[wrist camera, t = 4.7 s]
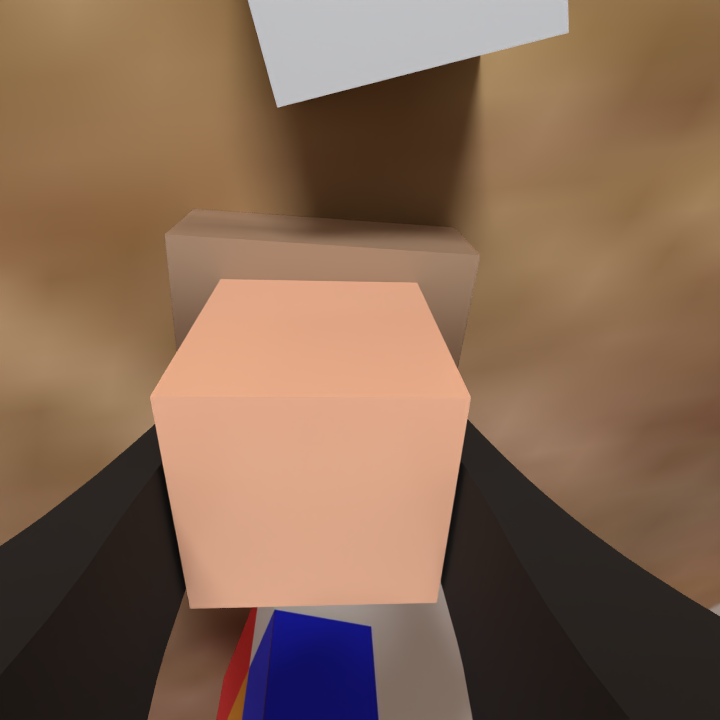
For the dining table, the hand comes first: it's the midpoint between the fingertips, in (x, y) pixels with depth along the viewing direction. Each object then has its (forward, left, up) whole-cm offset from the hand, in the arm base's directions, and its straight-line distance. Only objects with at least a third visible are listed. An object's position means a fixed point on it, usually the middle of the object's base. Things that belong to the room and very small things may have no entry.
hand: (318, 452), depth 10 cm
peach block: (0, 0, -3) cm, 3 cm away
